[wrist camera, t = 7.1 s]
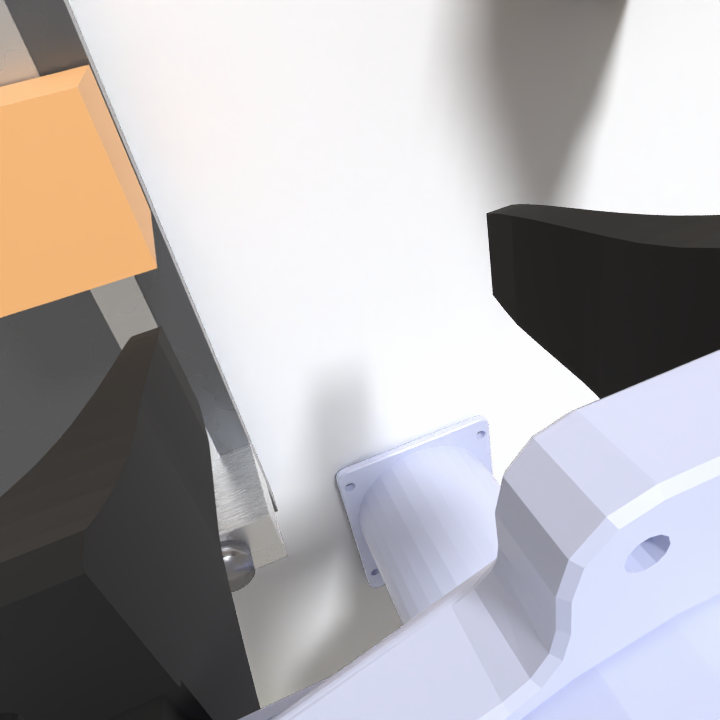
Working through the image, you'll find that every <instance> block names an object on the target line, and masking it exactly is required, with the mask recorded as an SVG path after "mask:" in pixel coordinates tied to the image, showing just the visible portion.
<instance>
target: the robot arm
mask: <svg viewBox="0 0 720 720" xmlns="http://www.w3.org/2000/svg"><path fill="white" fill-rule="evenodd" d="M487 226H488V238H489V251H490V263H491V276H492V288H493V296H494V297H495V298H496V299H497V301H498V302H499V303H500V304H501V306H502V307H503V308H504V310H505V311H506V312H507V313H508V314H509V315H510V317H511V318H512V319H513V320H514V321H515V322H516V324H517V325H518V326H519V327H521V328H522V329H523V330H524V331H525V332H526V333H527V334H528V335H529V336H531V337H532V338H533V339H534V340H535V341H536V342H537V343H538V344H540V345H541V346H542V347H543V348H544V349H545V350H547V351H548V352H549V353H550V354H551V355H552V356H553V357H555V358H556V359H557V360H558V361H559V362H560V363H562V364H563V365H564V366H565V367H566V368H567V369H569V370H570V371H571V372H572V373H573V374H574V375H575V376H577V377H578V378H579V379H580V380H581V381H582V382H584V383H585V384H586V385H587V386H588V387H589V388H590V389H591V390H592V391H593V392H594V393H595V394H596V395H597V396H598V397H599V398H600V400H597V401H595V402H592V403H590V404H588V405H585V406H583V407H580V408H578V409H576V410H573V411H571V412H569V413H568V414H566V415H564V416H563V417H561V418H560V419H558V420H557V421H555V422H554V423H552V424H551V425H549V426H547V427H546V428H544V429H543V430H541V431H540V432H538V433H537V434H535V435H533V436H532V437H531V439H530V440H529V441H528V442H527V444H526V445H525V446H524V447H523V449H522V450H521V451H520V453H519V454H518V455H517V456H516V458H515V459H514V460H513V461H512V463H511V464H510V465H509V467H508V468H507V469H506V471H505V473H504V475H503V479H502V483H501V486H500V485H499V484H498V482H497V481H496V480H495V478H494V477H493V475H492V462H491V449H490V436H489V424H488V421H487V420H486V419H485V417H483V416H480V415H479V416H475V417H472V418H470V419H467V420H465V421H462V422H460V423H457V424H455V425H452V426H450V427H447V428H445V429H442V430H439V431H437V432H434V433H432V434H429V435H427V436H424V437H422V438H419V439H417V440H414V441H412V442H409V443H407V444H404V445H402V446H399V447H396V448H394V449H391V450H389V451H386V452H384V453H381V454H379V455H376V456H374V457H371V458H369V459H366V460H364V461H361V462H358V463H356V464H353V465H351V466H348V467H346V468H343V469H342V470H340V471H339V472H338V473H337V475H336V481H337V484H338V487H339V490H340V493H341V497H342V500H343V503H344V506H345V509H346V513H347V516H348V519H349V522H350V525H351V529H352V532H353V535H354V538H355V541H356V545H357V548H358V551H359V554H360V557H361V561H362V564H363V567H364V570H365V573H366V577H367V580H368V583H369V585H370V587H372V588H378V587H381V586H383V585H386V588H387V590H388V592H389V594H390V597H391V599H392V601H393V603H394V606H395V608H396V610H397V613H398V615H399V617H400V619H401V622H402V624H403V625H402V626H401V627H400V628H398V629H397V630H395V631H394V632H393V633H391V634H390V635H388V636H387V637H386V638H384V639H383V640H381V641H380V642H379V643H377V644H376V645H374V646H373V647H372V648H370V649H369V650H367V651H366V652H365V653H363V654H362V655H361V656H359V657H358V658H356V659H355V660H354V661H352V662H351V663H349V664H348V665H347V666H345V667H344V668H342V669H341V670H340V671H338V672H337V673H335V674H334V675H333V676H331V677H329V678H326V679H324V680H322V681H320V682H318V683H316V684H313V685H311V686H309V687H307V688H305V689H303V690H300V691H298V692H296V693H294V694H292V695H290V696H288V697H285V698H283V699H281V700H279V701H277V702H275V703H272V704H270V705H268V706H266V707H264V708H262V709H260V706H259V702H258V698H257V695H256V691H255V687H254V683H253V679H252V675H251V671H250V667H249V663H248V659H247V655H246V652H245V648H244V644H243V640H242V636H241V631H240V627H239V623H238V619H237V615H236V611H235V607H234V602H233V598H232V594H231V590H230V585H229V581H228V576H227V572H226V568H225V563H224V559H223V554H222V550H221V543H220V537H219V530H218V521H217V511H216V501H215V491H214V482H213V472H212V463H211V454H210V445H209V440H208V436H207V432H206V428H205V424H204V420H203V416H202V412H201V409H200V405H199V402H198V400H197V398H196V396H195V394H194V392H193V390H192V388H191V386H190V384H189V382H188V380H187V378H186V376H185V373H184V371H183V369H182V367H181V365H180V363H179V361H178V359H177V357H176V355H175V353H174V351H173V349H172V347H171V345H170V343H169V340H168V338H167V336H166V334H165V332H164V330H163V328H162V326H160V327H157V328H154V329H152V330H149V331H146V332H143V333H140V334H137V335H134V336H131V338H130V339H129V340H128V341H127V343H126V344H125V346H124V347H123V349H122V351H121V352H120V354H119V356H118V357H117V359H116V360H115V362H114V364H113V365H112V367H111V368H110V370H109V371H108V373H107V375H106V376H105V378H104V379H103V381H102V382H101V384H100V385H99V387H98V389H97V390H96V392H95V393H94V394H93V396H92V397H91V398H90V400H89V401H88V402H87V404H86V405H85V407H84V408H83V409H82V411H81V412H80V413H79V415H78V416H77V417H76V419H75V420H74V422H73V423H72V424H71V425H70V427H69V428H68V429H67V430H66V432H65V433H64V434H63V435H62V436H61V437H60V439H59V440H58V441H57V442H56V443H55V444H54V445H53V446H52V448H51V449H50V450H49V451H48V452H47V453H46V454H45V455H44V456H43V457H42V458H41V459H40V461H39V462H38V463H37V464H36V465H35V466H34V467H33V468H32V469H31V470H29V471H28V472H27V473H26V474H25V475H24V476H23V477H22V478H21V479H20V480H19V481H18V482H16V483H15V484H14V485H13V486H12V487H11V488H10V489H9V490H8V491H7V492H6V493H4V494H3V495H2V496H1V497H0V720H720V215H705V216H666V215H644V214H628V213H615V212H604V211H594V210H584V209H575V208H565V207H556V206H545V205H530V204H517V205H510V206H507V207H504V208H501V209H498V210H495V211H492V212H489V213H487ZM478 432H479V433H478ZM477 433H478V434H477ZM350 483H351V484H350ZM348 484H350V485H349V486H346V485H348Z"/></svg>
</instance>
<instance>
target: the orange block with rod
mask: <svg viewBox="0 0 720 720" xmlns="http://www.w3.org/2000/svg"><path fill="white" fill-rule="evenodd" d="M156 268H157V262H156V253H155V245H154V236H153V228H152V219H151V211H150V208H149V206H148V204H147V201H146V199H145V197H144V194H143V192H142V189H141V187H140V185H139V182H138V180H137V178H136V175H135V173H134V170H133V168H132V166H131V163H130V161H129V159H128V156H127V154H126V151H125V149H124V147H123V144H122V142H121V140H120V137H119V135H118V132H117V130H116V128H115V125H114V123H113V120H112V118H111V116H110V113H109V111H108V109H107V106H106V104H105V101H104V99H103V97H102V94H101V92H100V90H99V87H98V85H97V82H96V80H95V78H94V75H93V73H92V71H91V68H90V66H89V65H85V66H81V67H77V68H73V69H69V70H66V71H62V72H58V73H54V74H50V75H46V76H42V77H38V78H34V79H30V80H26V81H22V82H18V83H14V84H10V85H6V86H2V87H0V318H1V317H4V316H7V315H11V314H14V313H17V312H20V311H23V310H26V309H30V308H33V307H36V306H39V305H42V304H45V303H49V302H52V301H55V300H58V299H61V298H64V297H68V296H71V295H74V294H77V293H80V292H83V291H87V290H90V289H93V288H96V287H99V286H102V285H106V284H109V283H112V282H115V281H118V280H121V279H125V278H128V277H131V276H134V275H137V274H140V273H144V272H147V271H150V270H153V269H156Z"/></svg>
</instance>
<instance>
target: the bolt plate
mask: <svg viewBox="0 0 720 720" xmlns="http://www.w3.org/2000/svg"><path fill="white" fill-rule="evenodd" d="M85 65H89V66H90V68H91V71H92V73H93V75H94V78H95V80H96V82H97V85H98V87H99V90H100V92H101V94H102V97H103V99H104V101H105V104H106V106H107V109H108V111H109V113H110V116H111V118H112V120H113V123H114V125H115V128H116V130H117V132H118V135H119V137H120V140H121V142H122V144H123V147H124V149H125V151H126V154H127V156H128V159H129V161H130V163H131V166H132V168H133V170H134V173H135V175H136V178H137V180H138V182H139V185H140V187H141V189H142V192H143V194H144V197H145V199H146V201H147V204H148V206H149V208H150V211H151V219H152V228H153V236H154V245H155V253H156V262H157V268H156V269H153V270H150V271H147V272H144V273H140V274H137V275H134V276H131V277H128V278H125V279H121V280H118V281H115V282H112V283H109V284H106V285H102V286H99V287H96V288H93V289H90V290H87V291H83V292H80V293H77V294H74V295H71V296H68V297H64V298H61V299H58V300H55V301H52V302H49V303H45V304H42V305H39V306H36V307H33V308H30V309H26V310H23V311H20V312H17V313H14V314H11V315H7V316H4V317H1V318H0V497H1V496H2V495H3V494H4V493H6V492H7V491H8V490H9V489H10V488H11V487H12V486H13V485H14V484H15V483H16V482H18V481H19V480H20V479H21V478H22V477H23V476H24V475H25V474H26V473H27V472H28V471H29V470H31V469H32V468H33V467H34V466H35V465H36V464H37V463H38V462H39V461H40V459H41V458H42V457H43V456H44V455H45V454H46V453H47V452H48V451H49V450H50V449H51V448H52V446H53V445H54V444H55V443H56V442H57V441H58V440H59V439H60V437H61V436H62V435H63V434H64V433H65V432H66V430H67V429H68V428H69V427H70V425H71V424H72V423H73V422H74V420H75V419H76V417H77V416H78V415H79V413H80V412H81V411H82V409H83V408H84V407H85V405H86V404H87V402H88V401H89V400H90V398H91V397H92V396H93V394H94V393H95V392H96V390H97V389H98V387H99V385H100V384H101V382H102V381H103V379H104V378H105V376H106V375H107V373H108V371H109V370H110V368H111V367H112V365H113V364H114V362H115V360H116V359H117V357H118V356H119V354H120V352H121V351H122V349H123V347H124V346H125V344H126V343H127V341H128V340H129V339H130V338H131V336H134V335H137V334H140V333H143V332H146V331H149V330H152V329H154V328H157V327H160V326H162V328H163V330H164V332H165V334H166V336H167V338H168V340H169V343H170V345H171V347H172V349H173V351H174V353H175V355H176V357H177V359H178V361H179V363H180V365H181V367H182V369H183V371H184V373H185V376H186V378H187V380H188V382H189V384H190V386H191V388H192V390H193V392H194V394H195V396H196V398H197V400H198V402H199V405H200V409H201V412H202V416H203V420H204V424H205V428H206V432H207V436H208V440H209V445H210V454H211V463H212V472H213V482H214V491H215V501H216V511H217V521H218V530H219V537H220V543H221V550H222V554H223V559H224V563H225V568H226V572H227V576H228V581H229V585H230V590H231V592H234V591H237V590H239V589H241V588H243V587H244V586H246V585H247V584H248V583H249V582H250V581H251V580H252V578H253V576H254V574H255V569H257V568H260V567H262V566H264V565H267V564H269V563H272V562H274V561H277V560H279V559H281V558H284V557H286V556H287V553H286V550H285V546H284V543H283V539H282V536H281V532H280V529H279V525H278V522H277V518H276V515H275V512H276V511H278V510H277V506H276V503H275V500H274V496H273V493H272V490H271V488H270V486H269V483H268V481H267V478H266V476H265V474H264V471H263V469H262V466H261V464H260V461H259V459H258V457H257V454H256V452H255V449H254V447H253V445H252V442H251V440H250V437H249V435H248V433H247V430H246V428H245V425H244V423H243V421H242V418H241V416H240V413H239V411H238V409H237V406H236V404H235V401H234V399H233V397H232V394H231V392H230V389H229V387H228V385H227V382H226V380H225V377H224V375H223V373H222V370H221V368H220V365H219V363H218V360H217V358H216V356H215V353H214V351H213V348H212V346H211V344H210V341H209V339H208V336H207V334H206V332H205V329H204V327H203V324H202V322H201V320H200V317H199V315H198V312H197V310H196V308H195V305H194V303H193V300H192V298H191V296H190V293H189V291H188V288H187V286H186V284H185V281H184V279H183V276H182V274H181V272H180V269H179V267H178V264H177V262H176V259H175V257H174V255H173V252H172V250H171V247H170V245H169V243H168V240H167V238H166V235H165V233H164V231H163V228H162V226H161V223H160V221H159V219H158V216H157V214H156V211H155V209H154V207H153V204H152V202H151V199H150V197H149V195H148V192H147V190H146V187H145V185H144V183H143V180H142V178H141V175H140V173H139V171H138V168H137V166H136V163H135V161H134V158H133V156H132V154H131V151H130V149H129V146H128V144H127V142H126V139H125V137H124V134H123V132H122V130H121V127H120V125H119V122H118V120H117V118H116V115H115V113H114V110H113V108H112V106H111V103H110V101H109V98H108V96H107V94H106V91H105V89H104V86H103V84H102V82H101V79H100V77H99V74H98V72H97V70H96V67H95V65H94V62H93V60H92V57H91V55H90V53H89V50H88V48H87V45H86V43H85V41H84V38H83V36H82V33H81V31H80V29H79V26H78V24H77V21H76V19H75V17H74V14H73V12H72V9H71V7H70V5H69V2H68V0H0V87H2V86H6V85H10V84H14V83H18V82H22V81H26V80H30V79H34V78H38V77H42V76H46V75H50V74H54V73H58V72H62V71H66V70H69V69H73V68H77V67H81V66H85Z"/></svg>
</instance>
